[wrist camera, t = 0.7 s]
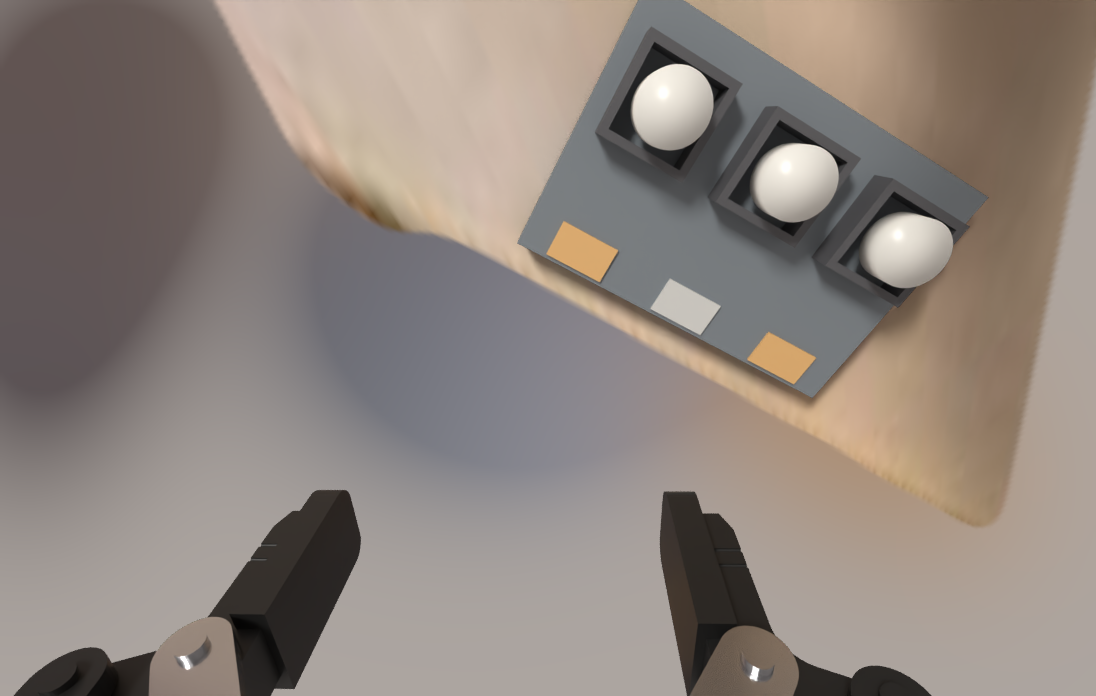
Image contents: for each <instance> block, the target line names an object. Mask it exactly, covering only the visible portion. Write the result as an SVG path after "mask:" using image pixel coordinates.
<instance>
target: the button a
mask: <svg viewBox="0 0 1096 696" xmlns="http://www.w3.org/2000/svg"><path fill="white" fill-rule="evenodd" d="M712 113H713V94H712V90H711V87H710V84H709V83H708V81H707V79H706V78H705V77H704V75H703V74H702V73H701V72H699V71H698V70H697V69H695V68H693V67H691V66H688V65H683V64H673V65H668V66H665V67H662V68H660V69H658V70H656V71H655V72H653V73H651V74H650V75H648V76H647V77H646V78H645V79H644V80H643V81H642V82H641V83H640V84H639V86H638V87H637V89H636V91H635V93H634V95H633V98H632V102H631V109H630V114H631V121H632V125H633V127H634V130H635V132H636V133H637V135H638V136H639V137H640V138H641V139H642V140H643V141H644V142H646V143H647V144H649V145H651V146H653V147H656V148H659V149H662V150H678V149H682V148H684V147H687V146H688V145H690V144H692V143H693V142H695V141H696V140H697V139H698V138H699V137H700V136H701V135H702V134H703V132H704V131H705V130H706V128H707V126H708V124H709V122H710V119H711V116H712Z"/></svg>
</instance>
